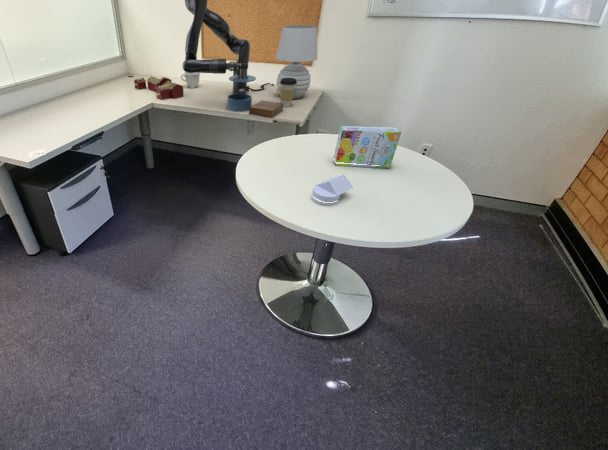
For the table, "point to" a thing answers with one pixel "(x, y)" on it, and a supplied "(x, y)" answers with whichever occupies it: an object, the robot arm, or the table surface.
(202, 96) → the table surface
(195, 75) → the teacup
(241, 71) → the lid
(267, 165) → the table surface
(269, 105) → the board
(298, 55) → the table lamp
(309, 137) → the table surface
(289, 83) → the coffee cup
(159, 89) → the toy houses
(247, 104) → the bowl
